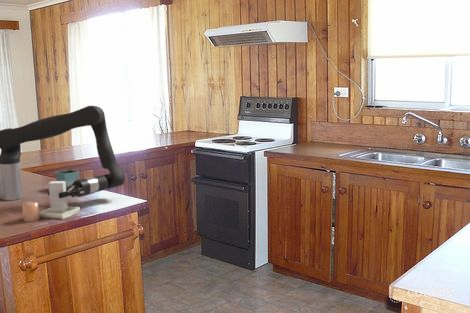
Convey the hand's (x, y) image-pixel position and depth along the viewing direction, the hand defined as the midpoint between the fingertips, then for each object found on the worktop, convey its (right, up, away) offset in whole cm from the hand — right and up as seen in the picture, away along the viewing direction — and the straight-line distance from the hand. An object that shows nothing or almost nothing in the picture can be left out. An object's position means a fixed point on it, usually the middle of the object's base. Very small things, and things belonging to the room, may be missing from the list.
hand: (53, 194), depth 209 cm
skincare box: (+1, -7, +3) cm, 8 cm away
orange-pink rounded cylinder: (-7, -10, -4) cm, 13 cm away
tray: (+1, -8, +3) cm, 9 cm away
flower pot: (-10, -1, +49) cm, 50 cm away
